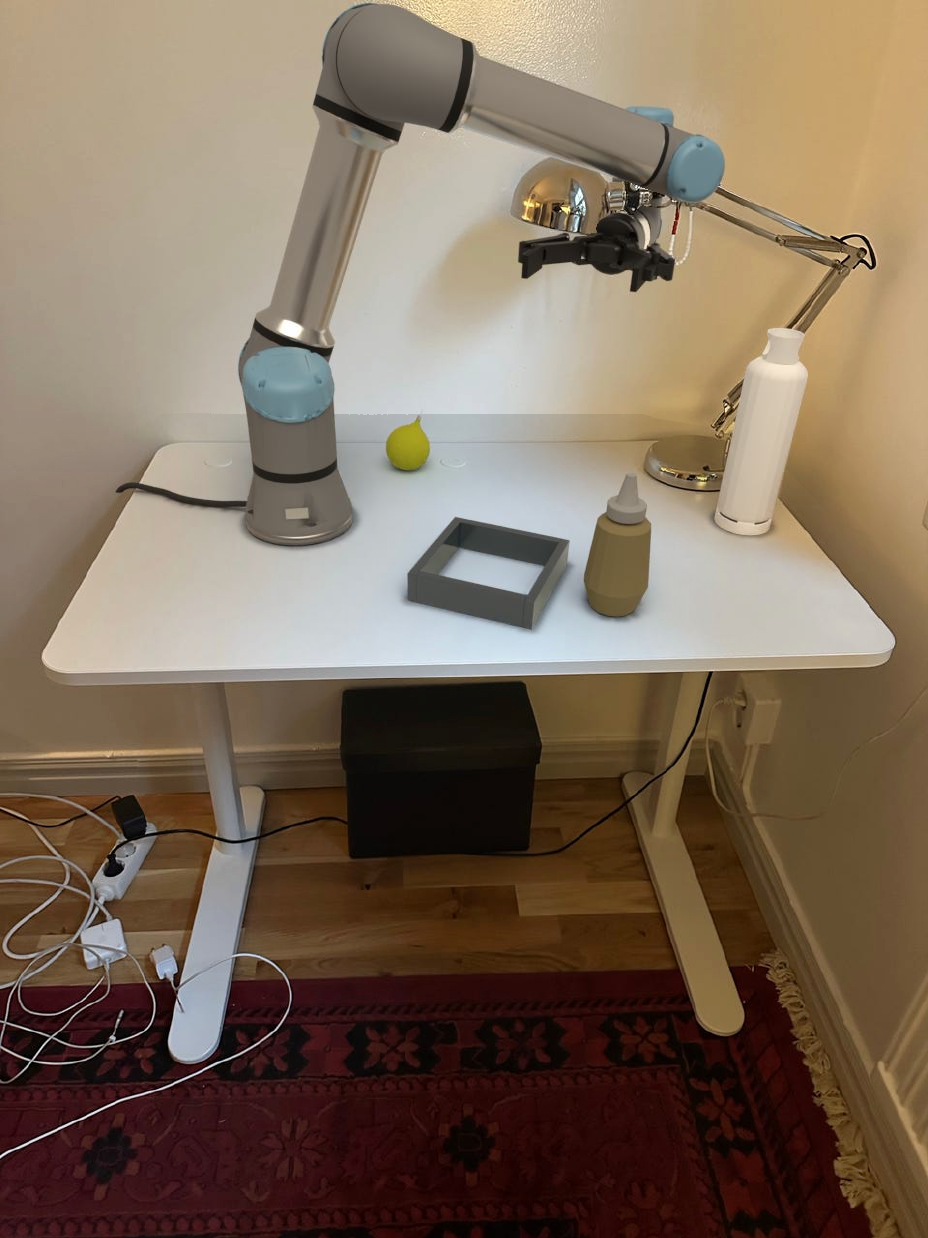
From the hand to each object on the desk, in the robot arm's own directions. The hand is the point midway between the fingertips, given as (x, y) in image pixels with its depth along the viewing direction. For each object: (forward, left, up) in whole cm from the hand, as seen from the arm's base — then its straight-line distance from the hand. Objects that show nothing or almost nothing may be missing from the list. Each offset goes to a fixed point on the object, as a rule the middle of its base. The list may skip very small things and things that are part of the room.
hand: (578, 273), depth 106 cm
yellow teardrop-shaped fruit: (-28, +12, -36) cm, 47 cm away
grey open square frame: (-4, -16, -36) cm, 39 cm away
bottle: (+25, +15, -36) cm, 47 cm away
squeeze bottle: (+12, -15, -36) cm, 41 cm away
